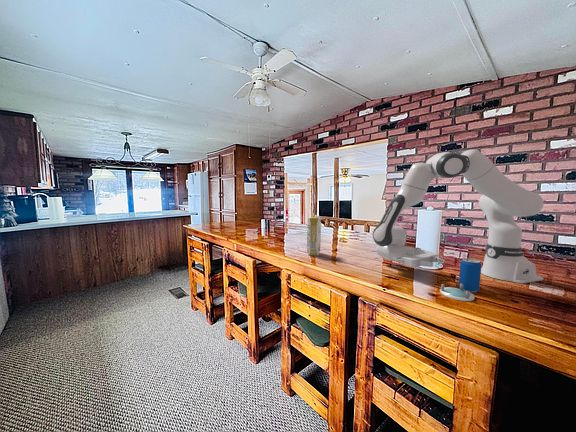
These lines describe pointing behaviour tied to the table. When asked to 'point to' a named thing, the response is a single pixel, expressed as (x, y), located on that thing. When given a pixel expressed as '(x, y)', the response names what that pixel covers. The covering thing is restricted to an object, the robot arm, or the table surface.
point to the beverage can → (470, 274)
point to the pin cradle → (457, 293)
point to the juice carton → (314, 235)
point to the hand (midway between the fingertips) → (438, 263)
